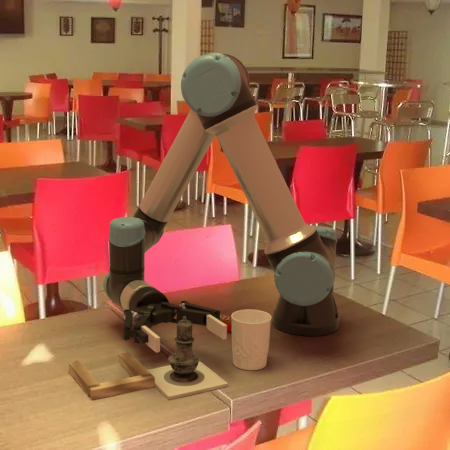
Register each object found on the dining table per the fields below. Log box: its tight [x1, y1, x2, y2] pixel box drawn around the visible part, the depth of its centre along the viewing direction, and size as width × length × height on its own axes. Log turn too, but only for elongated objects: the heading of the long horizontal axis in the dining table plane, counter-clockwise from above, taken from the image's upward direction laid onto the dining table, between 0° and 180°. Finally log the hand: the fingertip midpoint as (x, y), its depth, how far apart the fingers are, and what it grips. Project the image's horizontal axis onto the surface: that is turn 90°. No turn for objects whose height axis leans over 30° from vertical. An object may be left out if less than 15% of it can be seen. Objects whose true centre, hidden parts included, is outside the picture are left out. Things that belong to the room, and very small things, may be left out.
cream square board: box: [147, 361, 229, 401], centre depth 135 cm, size 12×12×1 cm
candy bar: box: [220, 313, 232, 334], centre depth 164 cm, size 16×4×3 cm, turn 50°
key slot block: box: [68, 351, 155, 401], centre depth 134 cm, size 12×13×2 cm
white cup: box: [230, 308, 273, 371], centre depth 142 cm, size 8×8×10 cm
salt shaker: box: [167, 316, 201, 382], centre depth 133 cm, size 6×6×12 cm
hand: (192, 338), depth 130 cm, fingers open, 13 cm apart
